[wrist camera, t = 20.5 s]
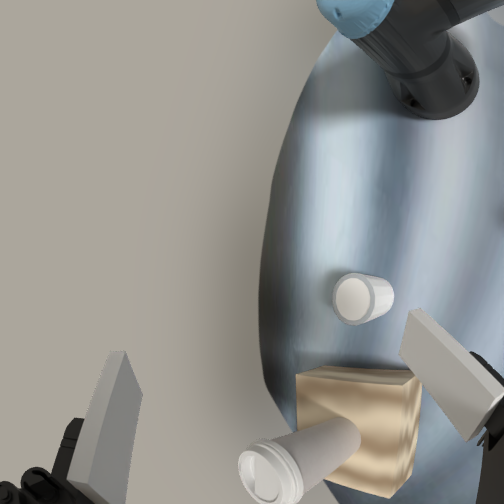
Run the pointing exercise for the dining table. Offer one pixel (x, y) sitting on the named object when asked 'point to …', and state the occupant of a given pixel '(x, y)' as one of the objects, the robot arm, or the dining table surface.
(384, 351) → the dining table surface
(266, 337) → the dining table surface
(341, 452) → the coffee cup
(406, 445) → the riser block
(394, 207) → the dining table surface
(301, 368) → the dining table surface
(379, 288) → the shot glass
